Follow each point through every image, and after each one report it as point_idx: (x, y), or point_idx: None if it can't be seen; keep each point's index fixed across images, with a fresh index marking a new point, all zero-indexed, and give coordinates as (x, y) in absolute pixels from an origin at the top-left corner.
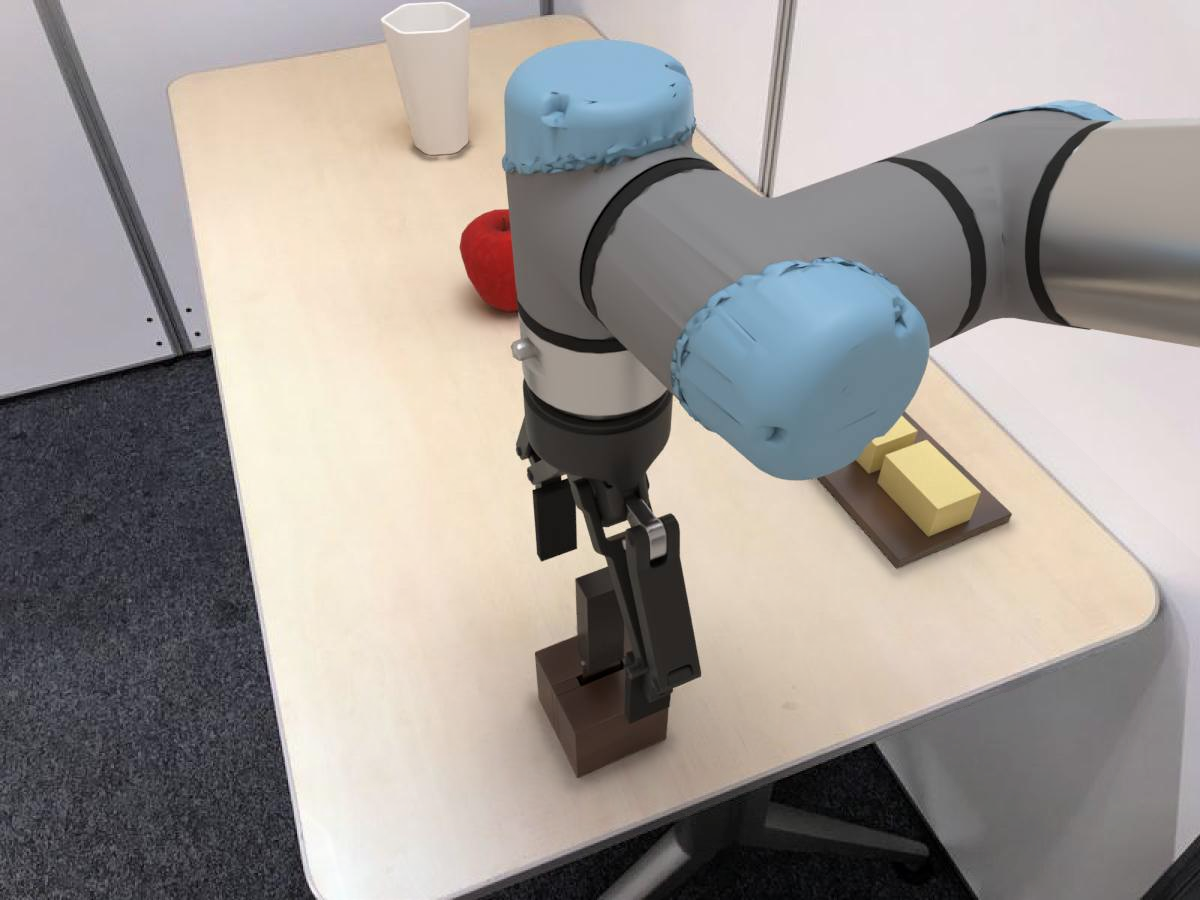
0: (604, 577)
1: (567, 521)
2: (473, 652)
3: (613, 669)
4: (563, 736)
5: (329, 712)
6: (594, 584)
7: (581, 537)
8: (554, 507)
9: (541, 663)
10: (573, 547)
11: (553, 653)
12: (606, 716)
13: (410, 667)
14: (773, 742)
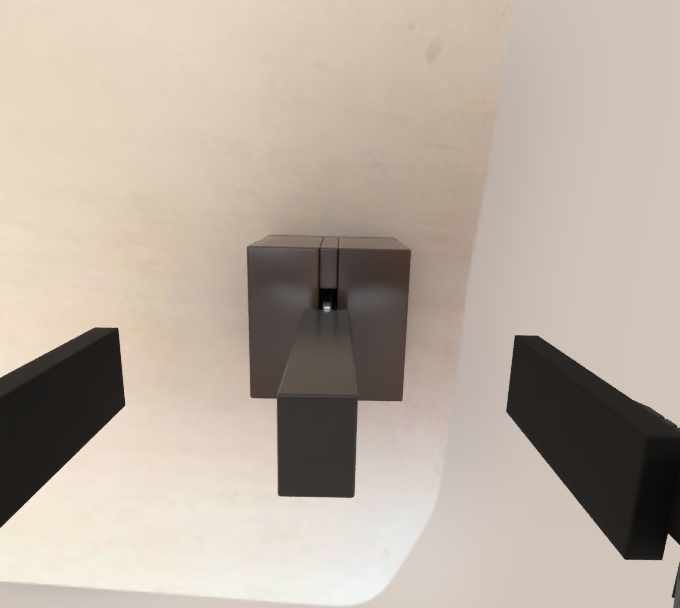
0: (308, 432)
1: (62, 387)
2: (173, 399)
3: (331, 307)
4: None
5: (189, 558)
6: (318, 463)
7: (30, 185)
8: (18, 455)
9: (274, 398)
10: (114, 338)
11: (265, 375)
12: (399, 352)
13: (165, 470)
14: (468, 108)
